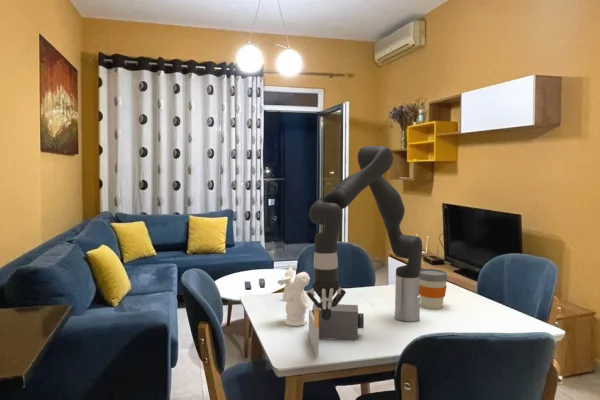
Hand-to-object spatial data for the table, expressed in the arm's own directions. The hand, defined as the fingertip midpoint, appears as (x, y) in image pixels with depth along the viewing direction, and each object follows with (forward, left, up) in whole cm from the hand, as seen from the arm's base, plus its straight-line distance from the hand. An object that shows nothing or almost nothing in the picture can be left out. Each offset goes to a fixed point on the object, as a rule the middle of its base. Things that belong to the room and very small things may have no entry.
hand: (326, 319), depth 144 cm
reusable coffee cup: (-44, -58, -12) cm, 73 cm away
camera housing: (-3, -18, -12) cm, 22 cm away
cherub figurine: (+14, -28, -12) cm, 34 cm away
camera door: (+4, -5, -11) cm, 13 cm away
